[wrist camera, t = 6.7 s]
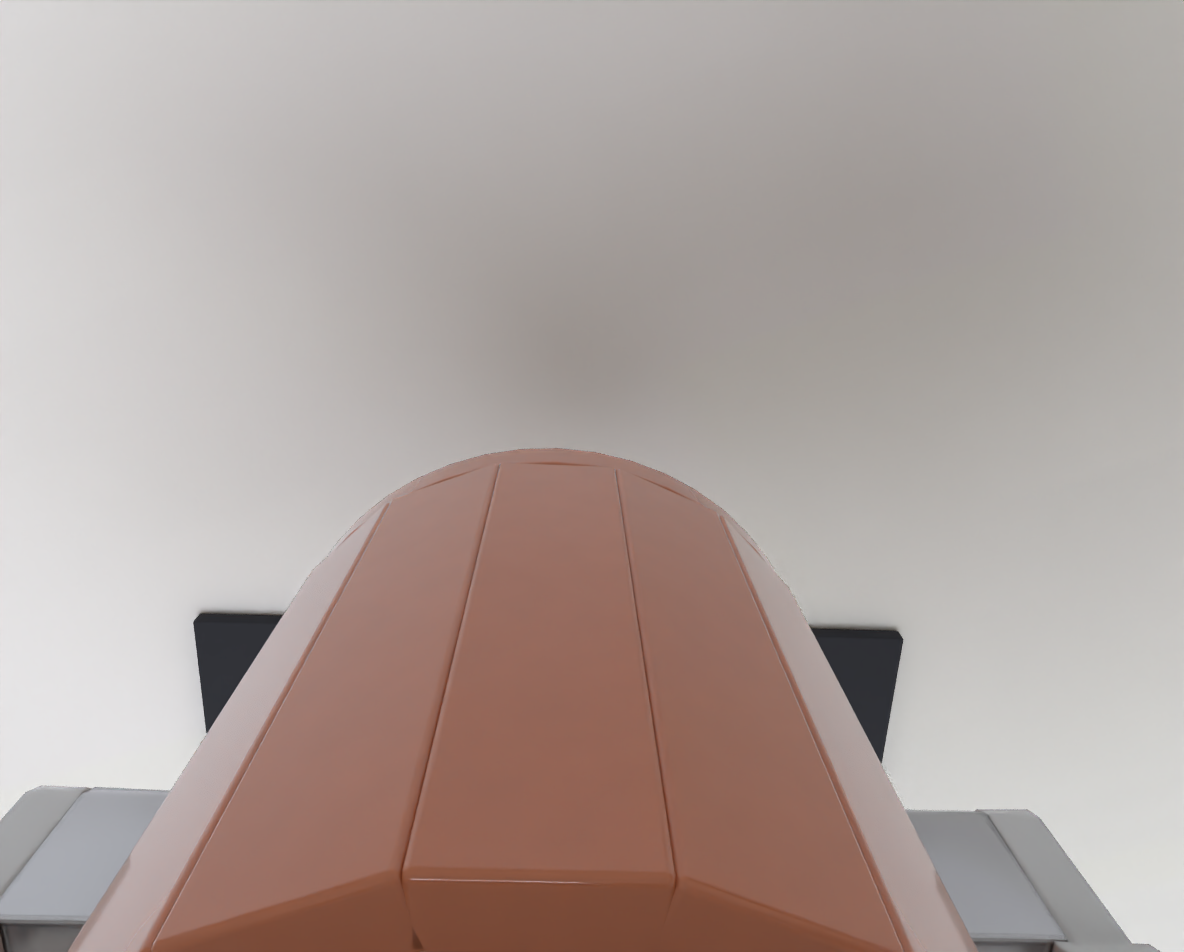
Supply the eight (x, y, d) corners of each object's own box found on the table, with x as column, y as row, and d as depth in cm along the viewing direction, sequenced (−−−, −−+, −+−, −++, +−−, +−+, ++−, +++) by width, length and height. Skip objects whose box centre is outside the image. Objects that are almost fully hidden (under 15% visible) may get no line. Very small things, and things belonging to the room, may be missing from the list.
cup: (275, 434, 10) (-195, 861, 4) (834, 457, 10) (1231, 892, 4) (306, 883, 12) (34, 1622, 6) (770, 893, 12) (967, 1613, 6)
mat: (199, 612, 25) (192, 621, 24) (898, 630, 26) (904, 639, 25) (257, 1115, 31) (252, 1129, 31) (813, 1118, 32) (817, 1132, 32)
